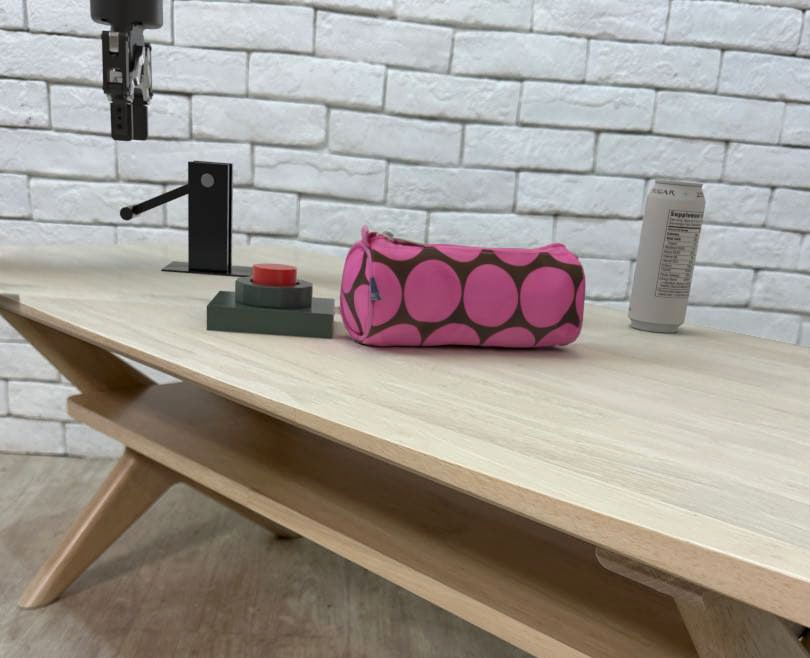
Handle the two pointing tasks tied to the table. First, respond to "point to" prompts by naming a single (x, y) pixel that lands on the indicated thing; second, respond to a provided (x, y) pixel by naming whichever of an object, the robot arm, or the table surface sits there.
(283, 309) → the control box
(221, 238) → the switch bracket
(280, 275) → the button
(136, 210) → the switch lever
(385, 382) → the table surface
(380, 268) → the pencil case
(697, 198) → the energy drink can
